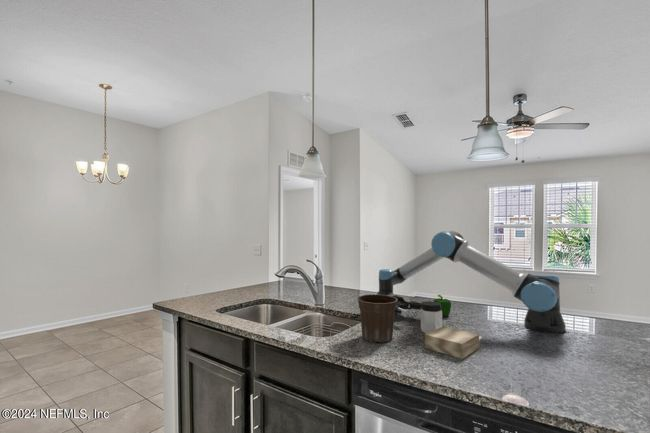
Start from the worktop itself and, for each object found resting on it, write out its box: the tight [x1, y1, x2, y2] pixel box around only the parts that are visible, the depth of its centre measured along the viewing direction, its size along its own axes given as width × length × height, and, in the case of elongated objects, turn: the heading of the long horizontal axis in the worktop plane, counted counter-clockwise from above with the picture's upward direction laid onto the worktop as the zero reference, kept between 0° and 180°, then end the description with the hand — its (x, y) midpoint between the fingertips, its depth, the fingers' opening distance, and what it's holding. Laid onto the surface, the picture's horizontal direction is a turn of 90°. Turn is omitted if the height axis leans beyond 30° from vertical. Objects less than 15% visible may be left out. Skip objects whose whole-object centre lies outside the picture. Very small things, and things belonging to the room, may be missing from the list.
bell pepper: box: [433, 294, 452, 317], centre depth 166 cm, size 8×8×10 cm
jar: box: [420, 300, 443, 334], centre depth 141 cm, size 9×8×12 cm
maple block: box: [424, 325, 480, 360], centre depth 122 cm, size 14×14×5 cm
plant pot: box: [356, 293, 397, 344], centre depth 133 cm, size 16×16×16 cm
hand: (419, 312), depth 149 cm, fingers open, 13 cm apart
